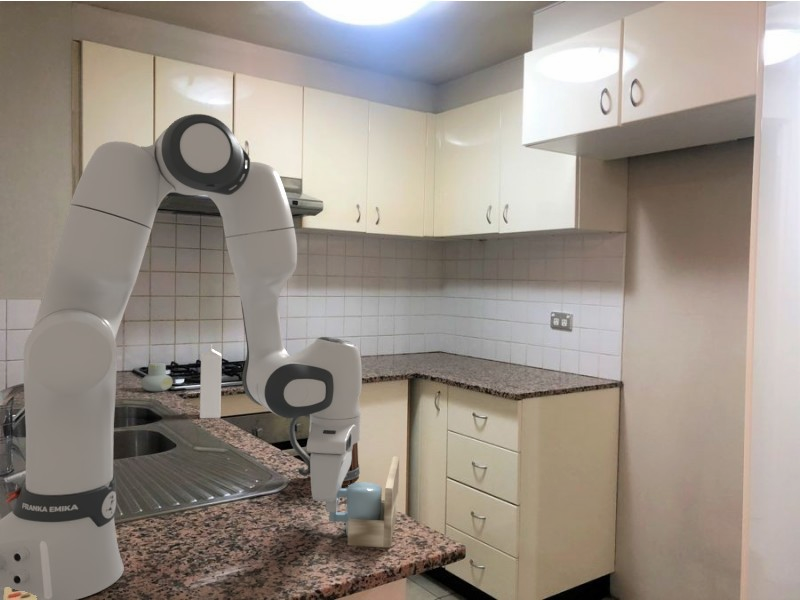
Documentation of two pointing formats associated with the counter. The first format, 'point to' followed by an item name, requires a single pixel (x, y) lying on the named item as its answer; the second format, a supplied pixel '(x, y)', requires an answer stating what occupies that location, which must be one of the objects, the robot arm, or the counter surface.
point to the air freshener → (156, 378)
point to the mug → (349, 478)
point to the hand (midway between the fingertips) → (332, 508)
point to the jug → (359, 503)
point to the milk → (210, 384)
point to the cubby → (376, 530)
